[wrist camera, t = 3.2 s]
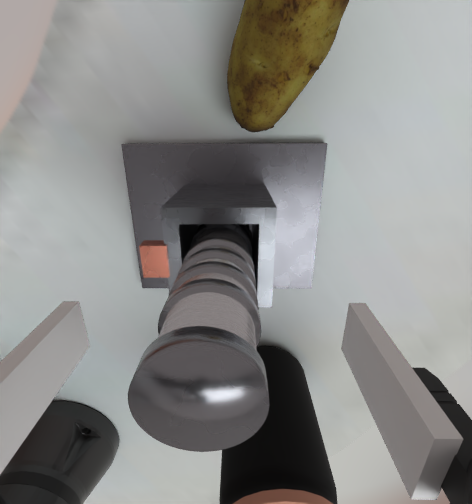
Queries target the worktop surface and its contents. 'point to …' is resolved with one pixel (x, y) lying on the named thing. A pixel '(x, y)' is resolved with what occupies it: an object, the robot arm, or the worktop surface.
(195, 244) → the column
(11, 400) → the robot arm
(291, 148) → the stand
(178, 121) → the worktop surface
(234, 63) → the potato
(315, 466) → the coffee jar
